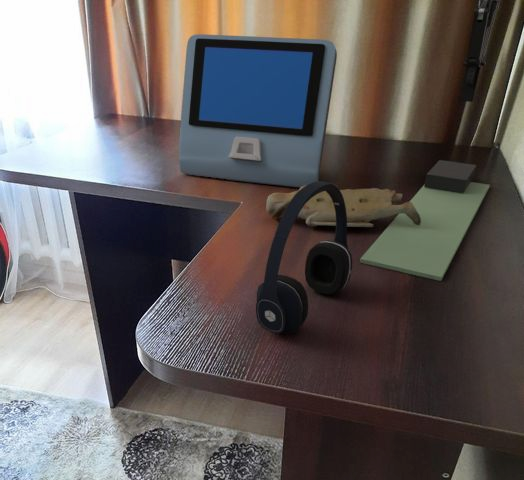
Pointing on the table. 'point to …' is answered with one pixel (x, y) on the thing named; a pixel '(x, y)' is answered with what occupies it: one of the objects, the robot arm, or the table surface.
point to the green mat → (427, 232)
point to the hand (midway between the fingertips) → (466, 100)
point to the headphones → (316, 267)
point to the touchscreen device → (256, 108)
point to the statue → (357, 207)
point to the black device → (450, 176)
